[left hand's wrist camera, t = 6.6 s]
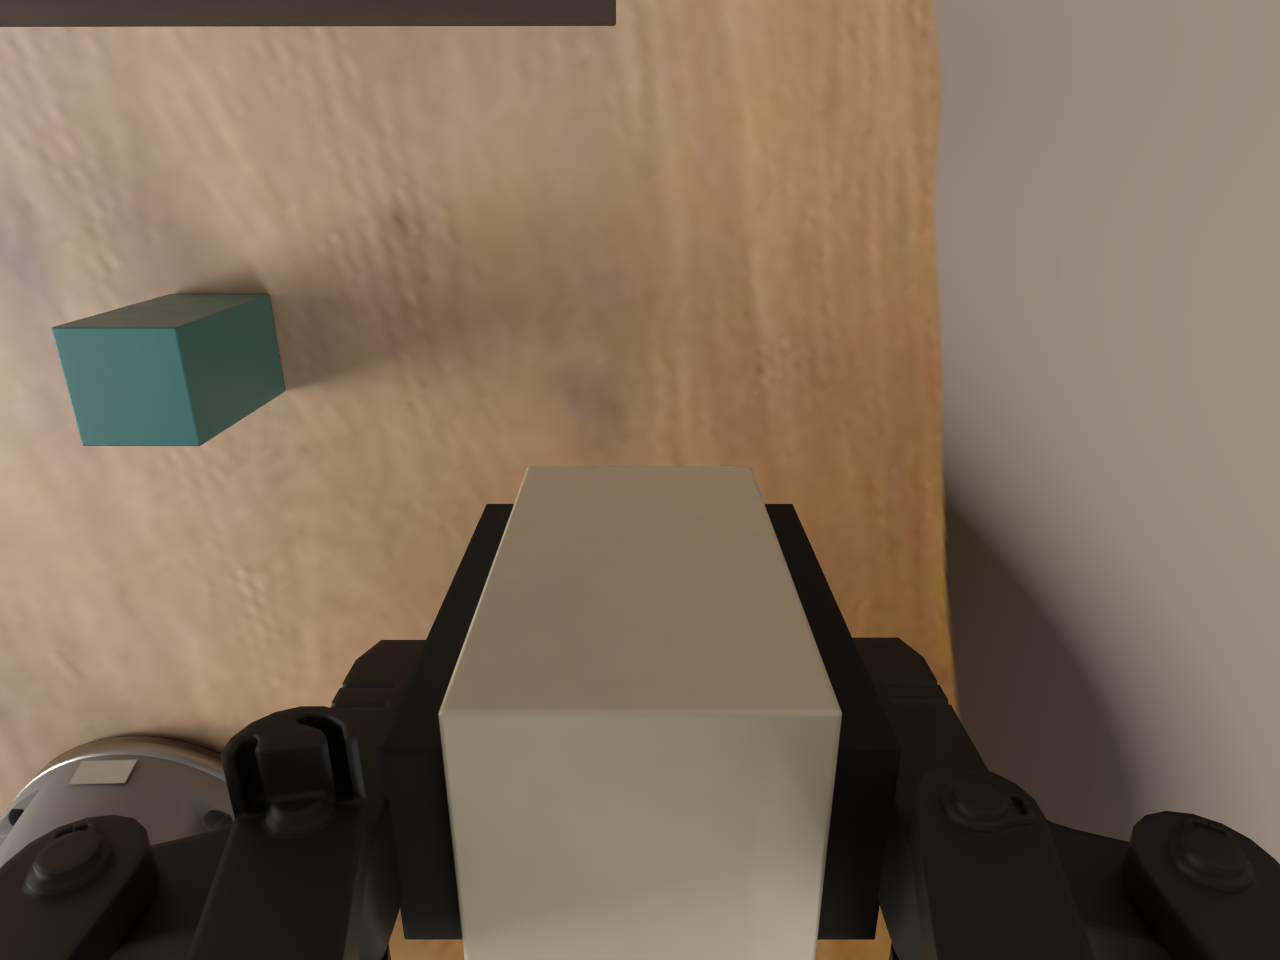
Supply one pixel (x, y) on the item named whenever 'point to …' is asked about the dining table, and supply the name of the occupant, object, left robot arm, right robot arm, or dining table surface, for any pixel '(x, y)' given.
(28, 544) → the dining table surface
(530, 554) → the cream block
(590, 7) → the pan
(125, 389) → the teal block
